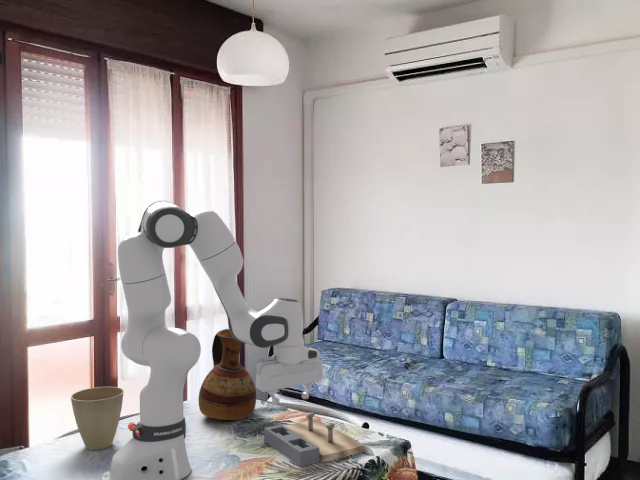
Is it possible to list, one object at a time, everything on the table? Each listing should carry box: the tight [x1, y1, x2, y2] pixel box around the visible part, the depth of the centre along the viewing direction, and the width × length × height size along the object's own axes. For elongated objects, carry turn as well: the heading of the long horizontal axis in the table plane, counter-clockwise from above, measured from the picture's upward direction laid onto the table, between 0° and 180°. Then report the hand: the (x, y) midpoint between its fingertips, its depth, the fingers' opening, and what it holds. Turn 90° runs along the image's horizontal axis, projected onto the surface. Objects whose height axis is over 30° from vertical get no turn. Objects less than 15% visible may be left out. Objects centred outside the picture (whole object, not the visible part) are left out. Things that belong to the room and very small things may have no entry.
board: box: [284, 411, 367, 464], centre depth 176 cm, size 14×28×7 cm, turn 30°
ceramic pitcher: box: [198, 328, 257, 421], centre depth 203 cm, size 20×20×30 cm
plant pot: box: [70, 386, 124, 451], centre depth 177 cm, size 15×15×16 cm
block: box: [263, 424, 321, 468], centre depth 170 cm, size 6×23×4 cm, turn 30°
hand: (290, 401), depth 170 cm, fingers open, 8 cm apart
